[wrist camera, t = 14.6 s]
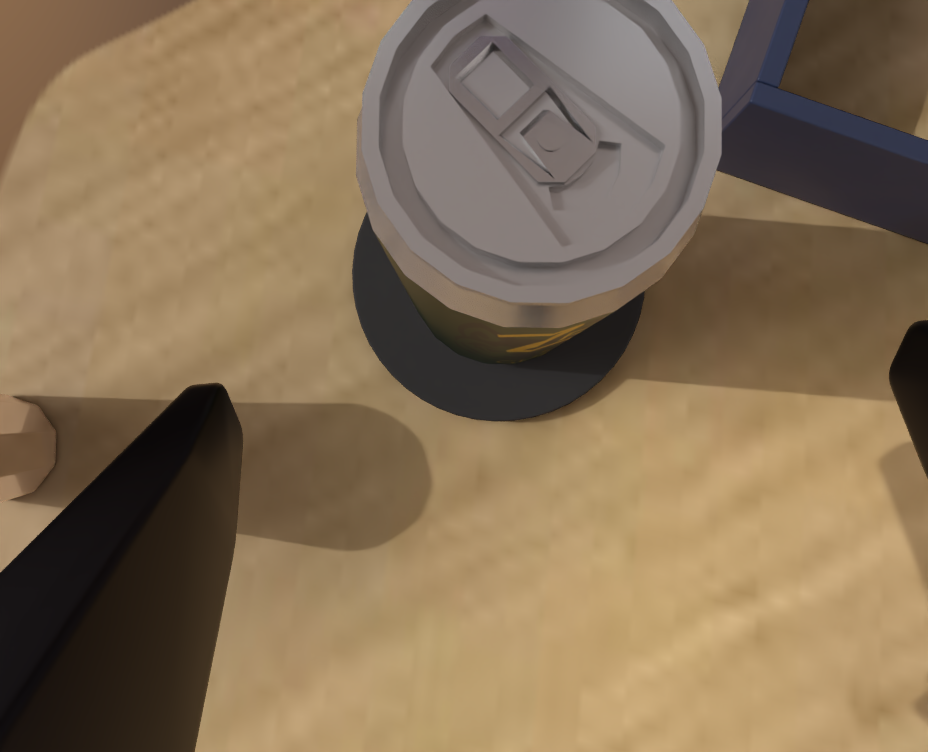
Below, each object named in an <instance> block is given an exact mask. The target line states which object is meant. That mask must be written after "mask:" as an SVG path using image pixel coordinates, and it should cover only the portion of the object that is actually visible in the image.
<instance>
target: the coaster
mask: <svg viewBox="0 0 928 752" xmlns="http://www.w3.org/2000/svg"><path fill="white" fill-rule="evenodd" d="M352 276H353V293H354V299H355V305H356V310H357V313H358V316H359V320H360V323H361V326H362V329H363V331H364V333H365V335H366V337H367V340H368V342H369V344H370V346H371V347H372V349H373V350H374V352H375V354H376V355H377V357H378V358H379V360H380V361H381V362H382V364H383V365H384V366H385V367H386V369H387V370H388V371H389V372H390V373H391V375H392V376H393V377H394V378H396V379H397V380H398V381H399V382H400V383H401V384H402V385H403V386H404V387H405V388H406V389H408V390H409V391H411V392H412V393H413V394H415V395H416V396H418V397H419V398H420V399H422V400H424V401H426V402H428V403H429V404H431V405H433V406H435V407H437V408H439V409H442V410H444V411H447V412H450V413H452V414H455V415H458V416H463V417H467V418H471V419H476V420H486V421H515V420H521V419H527V418H532V417H536V416H539V415H543V414H546V413H549V412H552V411H554V410H556V409H559V408H561V407H563V406H565V405H567V404H569V403H571V402H573V401H574V400H576V399H577V398H579V397H581V396H582V395H584V394H585V393H587V392H588V391H589V390H590V389H591V388H593V387H594V386H595V385H596V384H597V383H599V382H600V381H601V380H602V379H603V378H604V377H605V375H606V374H607V373H608V372H609V371H610V370H611V369H612V368H613V367H614V365H615V364H616V363H617V361H618V360H619V358H620V357H621V355H622V354H623V353H624V351H625V349H626V347H627V345H628V343H629V342H630V340H631V338H632V336H633V334H634V331H635V328H636V326H637V323H638V320H639V317H640V314H641V309H642V304H643V300H644V292H645V291H643V292H642V293H640V294H639V295H637V296H636V297H635V298H633V299H632V300H630V301H629V302H628V303H626V304H625V305H623V306H622V307H620V308H619V309H618V310H616V311H615V312H613V313H611V314H610V315H608V316H606V317H605V318H603V319H602V320H600V321H598V322H597V323H595V324H593V325H592V326H590V327H588V328H587V329H585V330H583V331H582V332H580V333H578V334H577V335H575V336H573V337H572V338H570V339H569V340H567V341H565V342H564V343H562V344H560V345H559V346H557V347H555V348H554V349H552V350H550V351H549V352H547V353H545V354H544V355H542V356H539V357H536V358H533V359H530V360H526V361H523V362H520V363H517V364H484V363H481V362H478V361H476V360H473V359H470V358H467V357H464V356H461V355H458V354H457V353H455V352H454V351H453V350H451V349H450V348H449V347H447V346H446V345H445V344H443V343H442V342H441V341H439V340H438V339H437V338H435V336H434V335H433V333H432V332H431V331H430V329H429V328H428V326H427V325H426V323H425V322H424V321H423V319H422V318H421V316H420V315H419V313H418V311H417V310H416V308H415V306H414V304H413V302H412V300H411V299H410V297H409V295H408V293H407V291H406V289H405V288H404V286H403V284H402V282H401V280H400V278H399V277H398V275H397V273H396V271H395V269H394V268H393V266H392V264H391V262H390V260H389V258H388V257H387V255H386V253H385V251H384V249H383V247H382V246H381V244H380V242H379V240H378V238H377V236H376V235H375V233H374V231H373V229H372V226H371V222H370V219H369V216H368V213H366V215H365V217H364V220H363V223H362V225H361V228H360V231H359V233H358V238H357V242H356V246H355V250H354V259H353V269H352Z"/></svg>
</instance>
